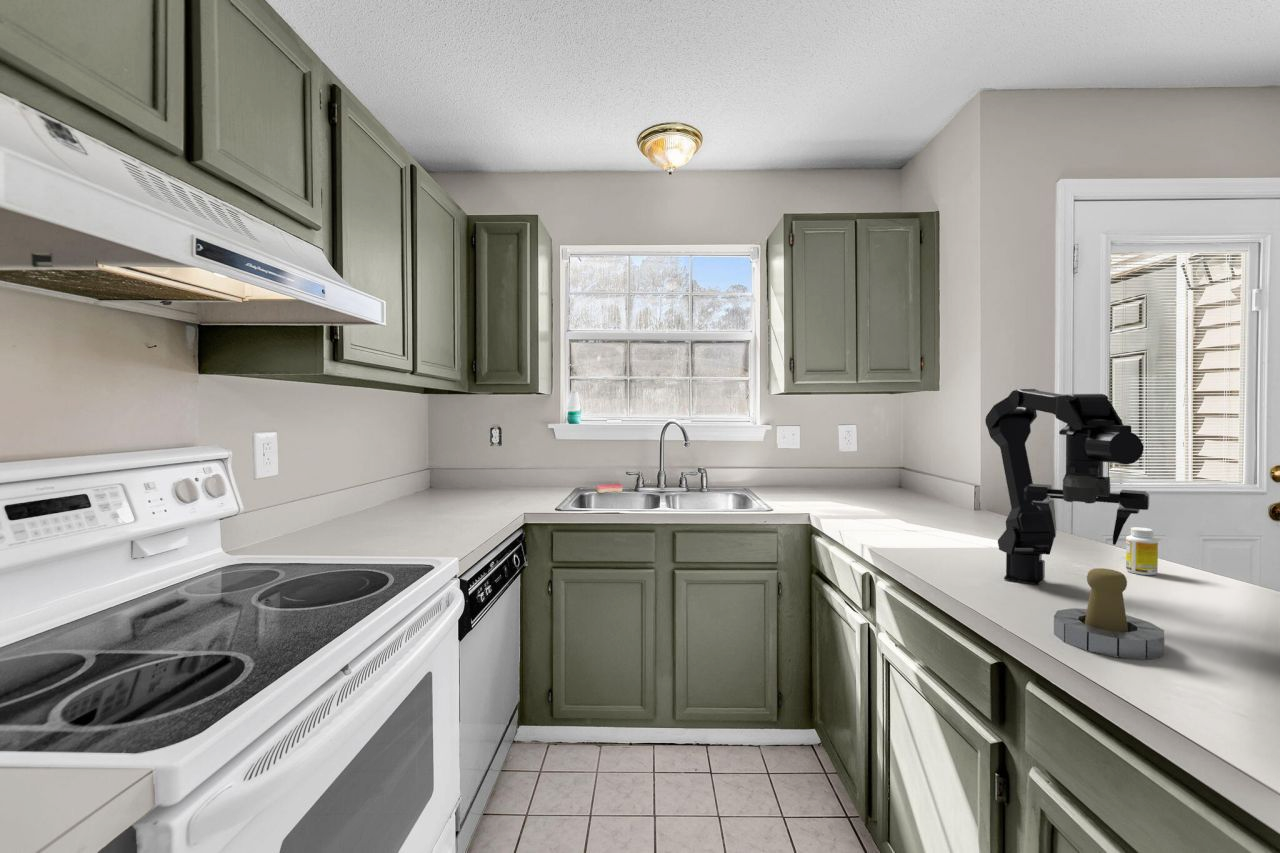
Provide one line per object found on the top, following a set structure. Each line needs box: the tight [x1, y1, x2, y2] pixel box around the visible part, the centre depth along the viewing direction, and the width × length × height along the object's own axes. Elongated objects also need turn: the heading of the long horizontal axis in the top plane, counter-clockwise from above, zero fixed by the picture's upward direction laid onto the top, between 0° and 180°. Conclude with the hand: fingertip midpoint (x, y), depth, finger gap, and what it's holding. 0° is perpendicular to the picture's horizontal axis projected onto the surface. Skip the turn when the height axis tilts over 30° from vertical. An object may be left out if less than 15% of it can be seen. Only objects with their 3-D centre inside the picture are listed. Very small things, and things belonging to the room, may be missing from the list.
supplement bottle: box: [1125, 526, 1159, 576], centre depth 135 cm, size 6×6×10 cm
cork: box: [1085, 567, 1128, 632], centre depth 96 cm, size 6×6×11 cm
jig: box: [1053, 607, 1166, 661], centre depth 96 cm, size 14×14×3 cm
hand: (1083, 540), depth 112 cm, fingers open, 9 cm apart
